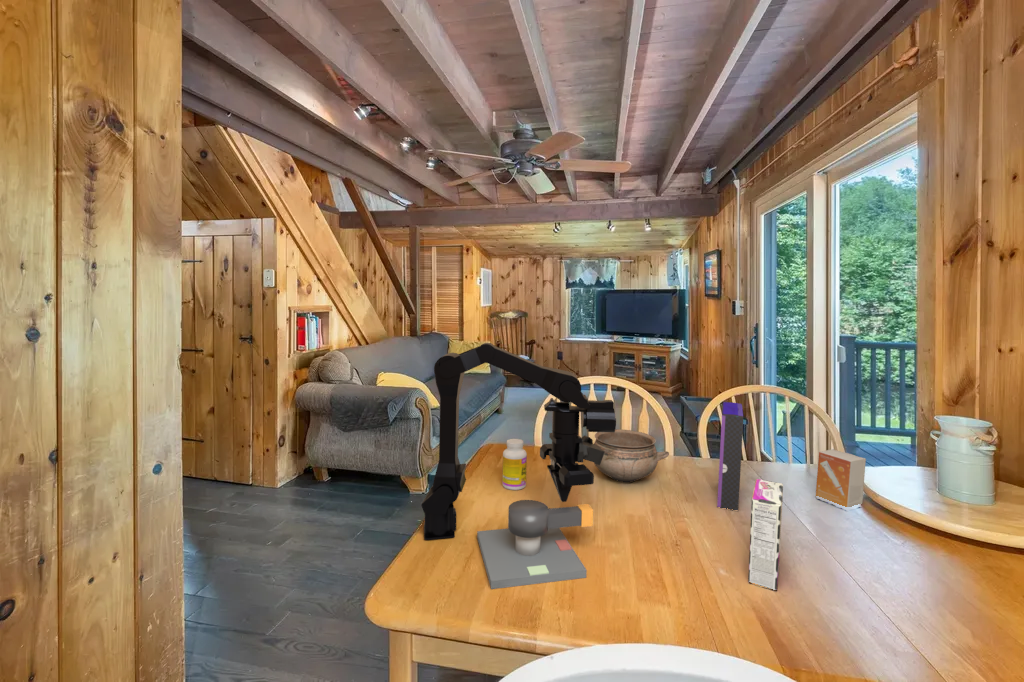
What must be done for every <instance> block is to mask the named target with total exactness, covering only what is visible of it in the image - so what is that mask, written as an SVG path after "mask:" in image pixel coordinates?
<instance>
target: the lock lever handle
mask: <svg viewBox="0 0 1024 682" xmlns="http://www.w3.org/2000/svg"><path fill="white" fill-rule="evenodd" d="M507 515H508V516H507V517H508V519H507V522H508V523H507V524H508V525H507V526H508V527H507V528H508V529H509V531H510V532H511V533H512V534H514V535H516V536H519V537H524V538H535V537H540V536H542V535H544V534H546V533H547V531H548V529H551V528H560V529H562V528H570V527H580V528H586V527H593V525H594V523H593V522H594V521H593V520H594V509H593V508H592V506H591V505H590V504H589V503H585V504H584V503H583V504H582V503H581V504H577V505H576V506H566V507H565V506H562V507H552V508H549V506H548V505H547V504H546V503H544V502H542V501H539V500H534V499H521V500H517V501H514V502H512V503H510V504H509V505H508V514H507Z"/></svg>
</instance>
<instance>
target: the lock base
mask: <svg viewBox="0 0 1024 682" xmlns="http://www.w3.org/2000/svg"><path fill="white" fill-rule="evenodd" d="M476 534H477V535H476V539H477V542H478V546H479V551H480V554H481V556H482V560H483V561H482V562H483V565H484V568H485V572H486V575H487V579H488V583H489V586H490V589H491V590H495V589H503V588H512V587H521V586H529V585H535V584H544V583H546V584H547V583H554V582H562V581H563V582H564V581H570V580H578V579H586V578H587V571H588V570H587V568H586V567H585V565H584V563H583V562H582V560H581V559H580V557H579V556H578V554H577V552H576V551H575V550H574V548H573V547H572V546H571V544H570V542H569V541H568V539H567V538H566V536H565V534H564V533H563V531H562V529H561V528H551V529H548V531H547V533H546V534H544V535H542V536H540V537H535V538H524V537H519V536H516V535H514V534H512V533H511V532H510V531H509V529H508V527H507V528H501V529H499V528H498V529H491V530H490V529H489V530H488V529H487V530H477V531H476Z"/></svg>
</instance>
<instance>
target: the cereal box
mask: <svg viewBox="0 0 1024 682" xmlns="http://www.w3.org/2000/svg"><path fill="white" fill-rule="evenodd" d="M720 427H721V429H720V445H719V446H720V448H719V463H718V464H719V466H718V483H717V484H718V486H717V504H716V505H717V506H716V508H717V507H720V508H719V509H722V508H726V509H725V510H727V508H728V509H733V510H738V511H739V503H740V487H741V485H740V483H741V468H742V467H741V466H742V449H743V432H744V431H743V430H744V429H743V428H744V412H743V404H742V403H738V402H729V401H728V402H727V401H723V402H722V411H721V426H720ZM733 510H732V511H733Z"/></svg>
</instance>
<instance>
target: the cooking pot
mask: <svg viewBox="0 0 1024 682" xmlns="http://www.w3.org/2000/svg"><path fill="white" fill-rule="evenodd" d="M594 438H595V441H594V442H593V444H595V445H597V446H599V447H600V448H601V449H603V450H604V451H605V453H604V456H603V458H602V461H601V464H600V465H597V464H595V463H594V462H593V464H594V465H595V467H596V468H597V469H598V470H599V471H600V472H601V473H603V474H605V475H606V476H608V477H610V478H611V479H612V480H614V481H616V482H619V483H626V484H628V483H633V482H635V481H638V480H640V479H643V478H645V477H648V476H649V475H651V474H652V473H653V472H654V470H656V468H657V465H658V462H659V461H661V460H663V459H666V458H668V457H669V456H670V452H669V451H657V448H656V445H655V444H656V442H657V439H656V438H655V437H654V436H653V435H650V434H648V433H645V432H642V431H637V430H631V429H621V428H620V429H618V428H617V429H615V432H614V433H612V432H595V433H594Z"/></svg>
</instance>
